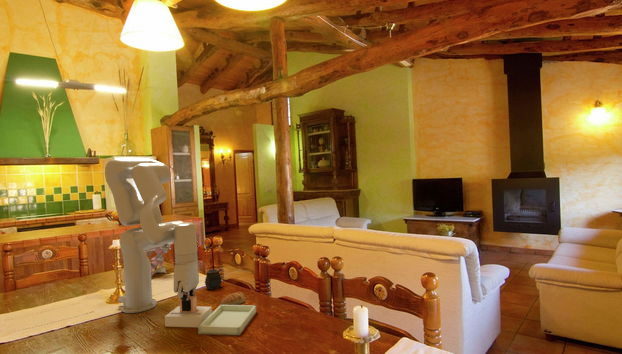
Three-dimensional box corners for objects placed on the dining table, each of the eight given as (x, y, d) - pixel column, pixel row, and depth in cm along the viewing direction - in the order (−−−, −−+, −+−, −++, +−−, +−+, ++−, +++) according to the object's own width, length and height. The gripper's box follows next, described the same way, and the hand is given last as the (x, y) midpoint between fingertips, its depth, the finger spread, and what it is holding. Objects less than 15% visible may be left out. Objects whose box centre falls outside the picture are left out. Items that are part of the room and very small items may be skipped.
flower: (119, 273, 181) (120, 233, 172) (160, 259, 199) (164, 222, 189) (136, 296, 171) (139, 255, 161) (178, 279, 188) (183, 241, 179)
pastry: (225, 309, 133) (224, 299, 133) (217, 304, 138) (216, 295, 138) (246, 302, 139) (246, 292, 139) (238, 298, 144) (237, 289, 144)
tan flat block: (180, 320, 122) (179, 298, 122) (183, 317, 124) (183, 295, 124) (193, 321, 121) (193, 298, 121) (196, 318, 124) (196, 296, 123)
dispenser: (165, 326, 119) (164, 315, 119) (178, 315, 128) (178, 305, 128) (200, 327, 117) (200, 316, 117) (211, 316, 126) (211, 305, 126)
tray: (198, 333, 113) (198, 326, 113) (220, 311, 130) (220, 304, 130) (239, 335, 111) (239, 327, 111) (256, 312, 128) (256, 305, 128)
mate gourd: (219, 284, 162) (218, 263, 162) (224, 288, 156) (223, 266, 156) (203, 287, 159) (202, 265, 158) (208, 292, 152) (207, 269, 152)
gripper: (187, 252, 131) (189, 300, 131) (163, 263, 115) (166, 318, 115) (206, 252, 130) (208, 300, 130) (184, 264, 114) (187, 319, 114)
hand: (188, 308), depth 123 cm, fingers closed on tan flat block, 2 cm apart
